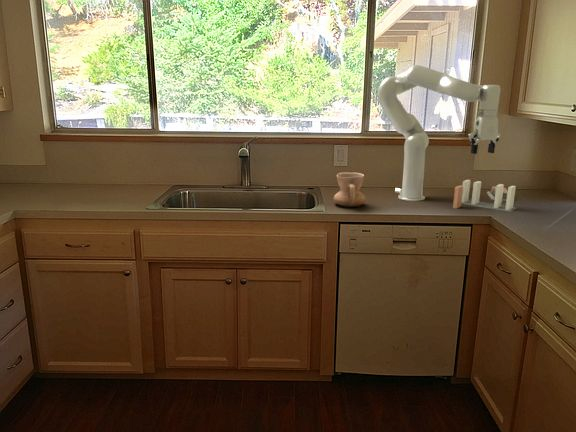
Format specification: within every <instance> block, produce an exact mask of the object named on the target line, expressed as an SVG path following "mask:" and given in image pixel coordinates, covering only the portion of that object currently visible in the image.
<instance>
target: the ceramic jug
mask: <svg viewBox="0 0 576 432" xmlns="http://www.w3.org/2000/svg"><path fill="white" fill-rule="evenodd" d="M364 178H365V175H364V174H363V173H360V172H339V173H337V174H336V179H337V180H336V181H337V183H338V187H339V188H340V190H339V191H338V192H336V194H334V197H333V201H334V203H335V204H337V205H339V206H342V207H347V208H354V207H359V206H362V205H364V204H365V203H366V196H365V194H364V193H362V192H361V191H360V190H361V187H362V185H363V183H364Z"/></svg>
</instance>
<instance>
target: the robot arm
mask: <svg viewBox="0 0 576 432" xmlns="http://www.w3.org/2000/svg"><path fill="white" fill-rule="evenodd" d="M416 87H420V88H424V89H427V90H430V91H433V92H435V93H437V94H438V93H439V94H442V95H443V94H444V95H446V96H449V97H453V98H455V99H458V100H461V101H464V102H470V103H471V102H479V107H478V111H477V115H478V116H477V117H476V119H475V122H474V128H473V131H472V132H471V133H469V134H468V135H467V136H468V141H469V142H470V145H471V146H470V147H471V149H470V153H471V154H472V155H473V154H474V155H477V154H478V148H479V145H478V143H480V141H481V142H482V141H487V142H489V143H488V147H487V153H489V154H495V149H496V145H497V144H498V141H499V140H500V138H501V135H502V134H501V133H500V132H499V118H498V117H497V116H498V109H499V103H500V102H499V101H500V95H501V86H500V85H498V84H484V85H481V84H475V83H471V82H468V81H465V80H462V79H459V78H456V77H453V76H452V75H449V74H447V73H444V72H443V71H438V70H436V69H431V68H429V67H425V66H423V65H420V64H414V65H413V64H412V65H411V66H410V67H409V68H408V69H407V71H405V72H402V73H400V74H398V75H395V76H393V75H391V76H387V77H386V78H384V79H383V80H382V82H381V83H380V85H379V87H378V90H377V99H378V100H377V101H378V102H379V105H380V108H381V109H382V110H383V113H385V115H386V116H387V118H388V120H389V122H390V123H391V125H392V126H393V127H394V130H395V131H396V132H397V133H399V134H401V135H403V137H404V138H405V141H404V144H403V150H404V151H403V152H404V154H403V156H404V157H403V173H402V184H401V185H402V186H401V188H399V187H395V190H394V192H395V193H398V194H399V195H397V196H398V197H397V198H398V199H399V200H401V201H407V202H409V201H413V202H414V201H418V202H419V201H424V200H426V196H424V195H423V187H424V186H423V185H424V175H425V164H426V163H425V162H426V161H425V160H426V149H427V147H428V146H429V143H430V140H429V139H430V138H429V136H428V134H427V133H426V131H425V130H424V128H423V126H422V125H421V123H420V122H419V120H418V119H417V118H416V116H415V115H414V114H412V113H409V112H407V110H406V108H405V107H404V105H403V103H402V102H401V101H400V100H399V99H398V95H400V94H403V93H404V92H407V91H409V90H412V89H413V88H416Z"/></svg>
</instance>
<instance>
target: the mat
mask: <svg viewBox="0 0 576 432" xmlns="http://www.w3.org/2000/svg"><path fill="white" fill-rule="evenodd" d="M471 202H472V199H468V201H467V202H464V203H463V202H462V203H461V205H467V206H468V205H469V206H474V207H480V208H484V209H485V208H487V209H489V210H490V209H491V210H497V211H504V212H508V213H511V212H513V211H514V210H516V209H518V207H515V206H513V208H512V209H510V210H505V207H506V205H503V204H501V207H499V208H494V203H492V202H484V201H479V203H477V204H471ZM452 203H454V200H453V201H452Z"/></svg>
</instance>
